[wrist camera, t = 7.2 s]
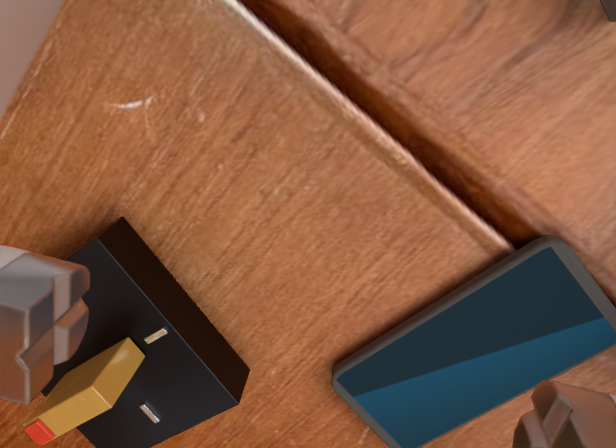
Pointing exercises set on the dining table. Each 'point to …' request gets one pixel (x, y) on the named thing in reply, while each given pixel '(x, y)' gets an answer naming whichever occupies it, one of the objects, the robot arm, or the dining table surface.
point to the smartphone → (479, 346)
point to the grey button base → (610, 9)
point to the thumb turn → (84, 392)
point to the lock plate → (150, 345)
